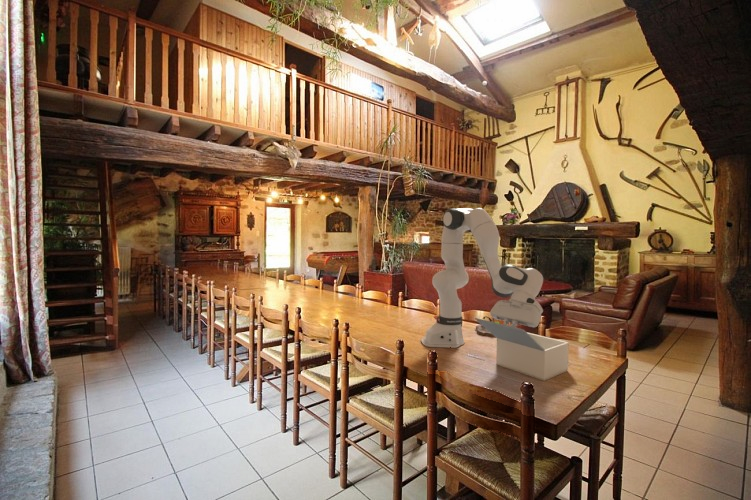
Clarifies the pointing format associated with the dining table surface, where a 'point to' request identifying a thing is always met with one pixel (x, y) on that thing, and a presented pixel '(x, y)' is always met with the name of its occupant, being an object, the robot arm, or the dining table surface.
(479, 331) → the succulent planter
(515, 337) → the carton flap
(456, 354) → the dining table surface
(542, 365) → the shipping carton
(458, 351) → the dining table surface
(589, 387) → the dining table surface
